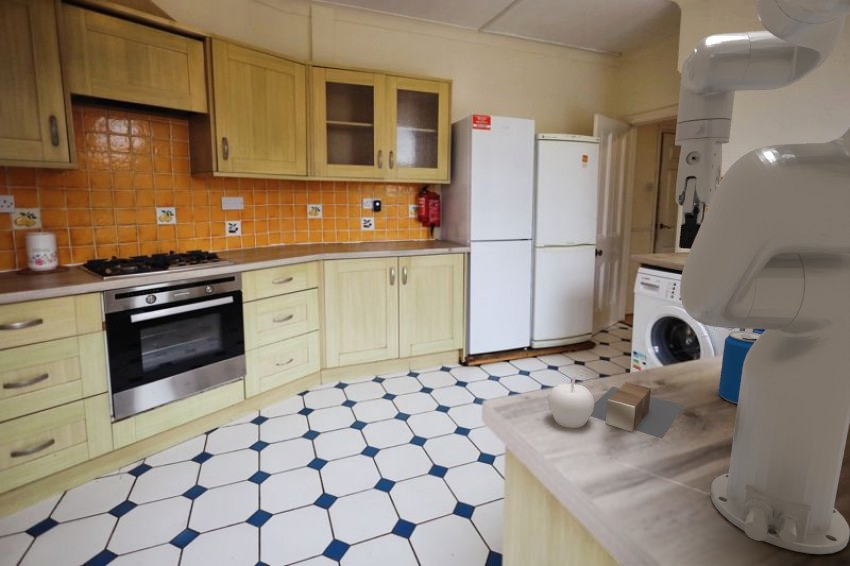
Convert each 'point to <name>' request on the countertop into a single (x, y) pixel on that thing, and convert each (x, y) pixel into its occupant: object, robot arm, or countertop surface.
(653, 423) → the mat
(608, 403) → the block
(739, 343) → the beverage can
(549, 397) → the plain white apple
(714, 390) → the countertop surface
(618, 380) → the countertop surface
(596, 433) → the countertop surface
